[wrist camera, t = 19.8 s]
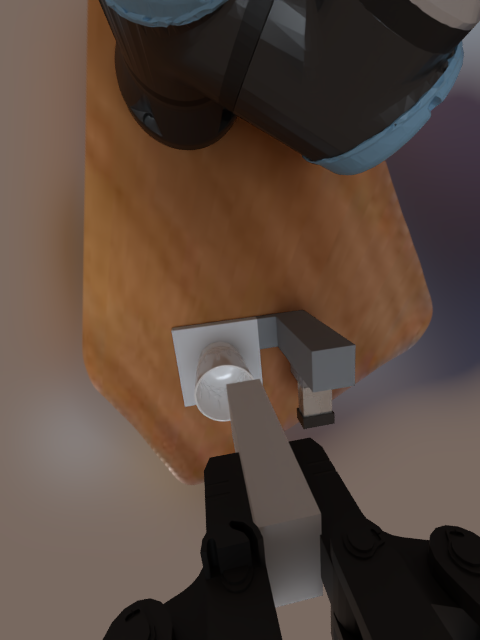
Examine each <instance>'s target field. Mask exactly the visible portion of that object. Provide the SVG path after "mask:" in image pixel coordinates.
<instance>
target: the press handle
mask: <svg viewBox="0 0 480 640" xmlns="http://www.w3.org/2000/svg"><path fill="white" fill-rule="evenodd" d="M290 366H291V373H292V374H293V376H294V377H295V378H296V380H297V381H298V400H299V408H297V418H298V420H299V422H300V423H301V425H302V427H303V429H307V428H312V427H317V426H323V425H328V424H333V423H334V412H333V411H332V389H331V390H325V391H320V392H314V393H313V392H312V391H311V389H310V388H309V387H308V385H307V384H306V383H305V381H304V380H303V379H302V377H301V376H300V375H299V374H298V372H297V371H296V370H295V368H294V367H293V366H292V364H291V363H290Z"/></svg>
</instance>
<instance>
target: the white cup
mask: <svg viewBox="0 0 480 640" xmlns="http://www.w3.org/2000/svg"><path fill="white" fill-rule="evenodd" d="M249 380H254V378H253V376H252V374H251V372H250V370H249V368H248V366H247V364H246V362H245V361H244V359H243V357H242V356H241V355H240V354H239V352H238V350H237V348H235V347H234V346H233V345H231V344H230V343H226V342H216V343H212V344H209V345H208V346H207V347H206V348H204V349H203V350H202V352H201V354H200V356H199V358H198V366H197V372H196V381H195V392H194V398H195V403H196V405H197V407H198V409H199V410H200V411H201V413H202V414H204V415H205V416H206V417H208V418H210V419H213V420H216V421H231V420H230V412H229V404H228V396H227V388H226V384H230V383H237V382H243V381H249Z"/></svg>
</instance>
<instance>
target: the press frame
mask: <svg viewBox="0 0 480 640" xmlns="http://www.w3.org/2000/svg"><path fill="white" fill-rule="evenodd" d="M172 336H173V342H174V347H175V353H176V359H177V364H178V370H179V376H180V381H181V387H182V393H183V398H184V404H185V407H186V406H192V405H196V403H195V398H194V392H195V381H196V372H197V366H198V358H199V356H200V354H201V352H202V350H203V349H204V348H206V347H207V346H208V345H209V344H212V343H216V342H226V343H230V344H231V345H233V346H234V347H235V348H237V350H238V352H239V354H240V355H241V356H242V357H243V359H244V361H245V362H246V364H247V366H248V368H249V370H250V372H251V374H252V376H253V378H254V380H255V379H260V381H261V383H262V371H261V360H260V349H264V348H270V347H277V346H278V347H279V348H280V350H281V351H282V352H283V354H284V355H285V356H286V358H287V359H288V360H289V362H290V363H291V364H292V366H293V367H294V368H295V370H296V371H297V372H298V374H299V375H300V376H301V377H302V379H303V380H304V381H305V383H306V384H307V385H308V387H309V388H310V389H311V391H312V392H313V393H314V392H320V391H325V390H331V389H337V388H343V387H349V386H354V385H355V344H353V343H352V342H350V341H349V340H347V339H346V338H344V337H343V336H341V335H340V334H338V333H337V332H335V331H334V330H333V329H331V328H330V327H328V326H327V325H325V324H324V323H322V322H321V321H319V320H318V319H316V318H315V317H313V316H312V315H310V314H309V313H307V312H306V311H304V310H299V311H292V312H284V313H277V314H270V315H263V316H255V317H248V318H241V319H234V320H226V321H219V322H212V323H205V324H197V325H190V326H183V327H176V328H172ZM262 385H263V383H262Z"/></svg>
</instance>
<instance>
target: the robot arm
mask: <svg viewBox="0 0 480 640" xmlns="http://www.w3.org/2000/svg"><path fill="white" fill-rule="evenodd" d="M99 2H100V4H101V7H102V9H103V11H104V14H105V16H106V18H107V21H108V23H109V25H110V28H111V30H112V32H113V35H114V37H115V39H116V46H115V69H116V76H117V80H118V84H119V88H120V91H121V94H122V96H123V98H124V100H125V102H126V104H127V106H128V108H129V110H130V112H131V114H132V116H133V117H134V119H135V120H136V121H137V123H138V124H139V125H140V126H141V127H142V128H143V129H144V130H145V131H146V132H147V133H148V134H149V135H150V136H151V137H153V138H154V139H156V140H157V141H159V142H161V143H162V144H165V145H167V146H169V147H173V148H176V149H182V150H195V149H200V148H204V147H207V146H209V145H211V144H213V143H215V142H216V141H218V140H219V139H220V138H222V137H223V136H224V135H225V134H226V133H227V131H228V130H229V129H230V128H231V126H232V125H233V123H234V121H235V119H236V117H237V116H239V117H241V118H242V119H244V120H246V121H247V122H249V123H251V124H252V125H254V126H256V127H257V128H259V129H261V130H262V131H264V132H266V133H267V134H269V135H271V136H272V137H274V138H275V139H277V140H279V141H280V142H282V143H284V144H285V145H287V146H289V147H290V148H292V149H294V150H295V151H297V152H299V153H300V154H302V157H303V158H304V159H305V160H306V161H308V162H310V163H314V164H319V165H321V166H322V167H324V168H326V169H328V170H330V171H332V172H334V173H336V174H339V175H355V174H358V173H362V172H364V171H367V170H369V169H371V168H373V167H375V166H376V165H378V164H380V163H381V162H383V161H384V160H386V159H387V158H388V157H390V156H391V155H392V154H394V153H395V152H396V151H398V150H399V149H400V148H401V147H402V146H403V145H404V144H406V143H407V142H408V141H409V140H410V139H411V138H412V137H413V136H414V135H415V134H416V133H417V132H418V131H419V130H420V129H421V128H422V127H423V125H424V124H425V123H426V122H427V121H428V120H429V119H430V117H431V112H430V111H431V110H432V109H433V108H434V107H436V106H437V105H439V104H440V103H441V102H442V101H444V99H445V98H446V96H447V95H448V93H449V92H450V90H451V88H452V87H453V85H454V83H455V81H456V79H457V77H458V74H459V72H460V69H461V67H462V64H463V56H464V52H463V47H462V39H464V37H465V36H466V35H467V34H468V33H469V32H470V31H471V30H472V29H473V28H474V26H475V25H476V24H477V23H478V22H479V21H480V0H99ZM226 388H227V396H228V404H229V412H230V420H231V428H232V436H233V441H234V446H235V452H236V453H232V454H227V455H222V456H216V457H211V458H209V461H208V463H207V465H206V468H205V470H204V482H205V506H206V530H207V531H206V534H205V536H204V538H203V540H202V546H201V552H200V553H201V558H202V563H203V568H202V570H201V572H200V574H199V576H198V577H197V578H196V580H195V581H194V582H193V583H192V584H191V585H190V586H189V587H188V588H187V589H185V590H184V591H183V592H181V593H180V594H178V595H177V596H175V597H174V598H172V599H170V600H169V601H167V602H166V603H164V604H162V603H161V602H160V601H156V600H154V599H144V600H140V601H137V602H135V603H133V604H131V605H130V606H128V607H127V608H125V609H124V610H123V611H122V612H121V613H120V614H119V616H118V617H117V618H116V619H115V620H114V621H113V622H112V624H111V626H110V627H109V629H108V631H107V633H106V635H105V637H104V638H103V640H282V636H281V632H280V627H279V623H278V618H277V613H276V609H275V607H279V606H283V605H287V604H291V603H295V602H299V601H302V600H306V599H310V598H314V597H318V596H322V595H323V584H324V587H325V589H326V592H327V595H328V598H329V600H330V603H331V635H332V640H480V537H479V536H478V535H476V534H474V533H473V532H471V531H468V530H465V529H463V528H460V527H457V526H447V525H445V526H441V527H438V528H435V530H434V531H433V532H432V533H431V535H430V540H421V539H413V538H404V537H399V536H394V535H391V534H388V533H386V532H384V531H382V530H381V528H380V527H379V526H377V525H376V524H374V523H373V522H371V521H370V520H368V519H366V517H365V516H364V515H363V513H362V512H361V510H360V509H359V507H358V506H357V504H356V502H355V501H354V499H353V497H352V496H351V494H350V492H349V491H348V489H347V487H346V486H345V484H344V482H343V481H342V479H341V477H340V476H339V474H338V473H337V472H336V470H335V468H334V466H333V464H332V463H331V461H330V460H329V458H328V456H327V454H326V453H325V451H324V450H323V448H322V447H321V446H320V445H319V444H318V443H316V442H315V441H314V440H313V439H311V438H305V439H300V440H295V441H290V442H288V440H287V438H286V436H285V433H284V431H283V429H282V427H281V425H280V422H279V420H278V418H277V416H276V414H275V411H274V409H273V407H272V405H271V403H270V401H269V398H268V396H267V394H266V392H265V390H264V387H263V385H262V383H261V381H260V379H255V380H249V381H243V382H237V383H230V384H226Z"/></svg>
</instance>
